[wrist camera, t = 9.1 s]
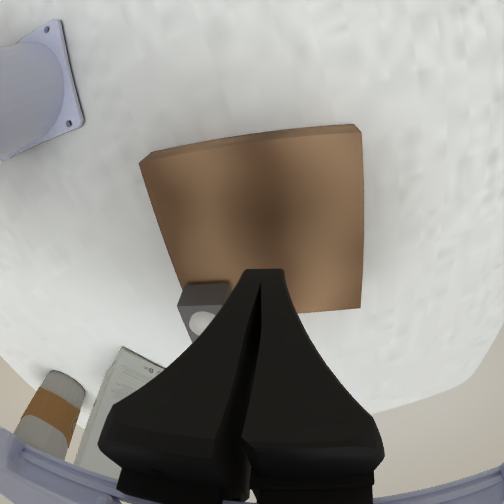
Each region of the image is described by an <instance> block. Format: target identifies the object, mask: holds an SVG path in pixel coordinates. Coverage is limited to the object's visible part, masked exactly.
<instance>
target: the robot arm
mask: <svg viewBox="0 0 504 504" xmlns="http://www.w3.org/2000/svg"><path fill="white" fill-rule="evenodd" d="M49 27H50V30H49V32H48V28H49ZM69 121H71V122H72V126H71V125H70V124H69ZM82 124H83V116H82V112H81V109H80V105H79V101H78V97H77V93H76V90H75V86H74V82H73V77H72V73H71V69H70V65H69V60H68V56H67V51H66V46H65V41H64V36H63V30H62V25H61V21H60V20H58V19H53V20H51V21H49V22H48V23H46V24H45V25H43V26H41V27H40V28H38V29H37V30H35V31H34V32H32V33H31V34H29V35H28V36H26V37H25V38H23V39H22V40H20V41H19V42H18V43H16V44H15V45H10V46H4V47H0V161H4V160H6V159H8V158H10V157H12V156H14V155H16V154H18V153H20V152H22V151H25V150H27V149H29V148H31V147H33V146H35V145H38V144H40V143H42V142H45V141H47V140H49V139H52V138H54V137H56V136H59V135H61V134H64V133H66V132H69V131H71V130H74V129H76V128H79V127H80V126H82ZM97 445H98V447H99V449H100V451H101V452H102V453H103V454H104V455H105V456H107V457H108V458H109V459H111V460H112V461H113V462H114V463H116V464H117V465H118V466H120V467H121V468H122V469H121V472H120V476H119V479H115V478H112V477H109V476H105V475H102V474H99V473H96V472H93V471H90V470H87V469H84V468H82V467H79V466H76V465H74V464H71V463H68V462H65V461H63V460H61V459H58V458H56V457H54V456H51V455H49V454H47V453H44V452H42V451H40V450H38V449H35V448H33V447H31V446H29V445H27V444H25V443H24V442H23V441H22V440H21V439H20V438H18V437H17V436H16V435H14V434H13V433H11V432H10V431H8V430H6V429H4V428H2V427H0V493H1V494H2V495H3V496H5V497H6V498H7V499H9V500H10V501H12V502H13V503H14V504H121V502H120V501H119V500H121V501H124V502H127V503H131V504H504V463H502V464H501V465H500V466H498V467H495V468H493V469H490V470H487V471H484V472H481V473H479V474H476V475H473V476H470V477H466V478H463V479H460V480H457V481H453V482H450V483H446V484H443V485H438V486H435V487H431V488H427V489H422V490H417V491H414V492H408V493H403V494H398V495H392V496H386V497H379V498H373V494H372V485H374V470H375V469H376V468H377V466H378V465H379V464H380V463H381V462H382V460H383V459H384V457H385V453H384V447H383V443H382V439H381V436H380V433H379V431H378V428H377V426H376V423H375V421H374V419H373V417H372V416H371V415H370V414H369V413H368V412H367V411H366V410H365V409H364V408H363V407H362V406H361V405H360V404H359V403H358V402H357V401H356V400H355V399H354V398H353V397H352V396H351V394H350V393H349V392H348V391H347V390H346V389H345V388H344V386H343V385H342V384H341V383H340V381H339V380H338V379H337V378H336V376H335V375H334V374H333V372H332V371H331V370H330V368H329V367H328V366H327V365H326V363H325V362H324V360H323V359H322V357H321V356H320V354H319V353H318V351H317V350H316V348H315V346H314V345H313V343H312V341H311V340H310V338H309V336H308V334H307V332H306V331H305V329H304V327H303V325H302V323H301V321H300V319H299V316H298V314H297V312H296V310H295V307H294V305H293V302H292V300H291V297H290V294H289V291H288V288H287V284H286V280H285V271H284V270H283V269H281V268H279V269H246V270H244V271H243V273H242V275H241V277H240V279H239V281H238V282H237V284H236V286H235V287H234V289H233V291H232V292H231V294H230V296H229V297H228V299H227V300H226V301H225V303H224V304H223V306H222V307H221V309H220V310H219V312H218V313H217V314H216V316H215V317H214V318H213V320H212V321H211V322H210V323H209V325H208V326H207V327H206V328H205V330H204V331H203V332H202V333H201V334H200V336H199V337H198V338H197V339H196V340H195V341H194V342H193V343H192V344H191V345H190V346H189V347H188V348H187V349H186V350H185V351H184V352H183V353H182V354H181V355H180V356H179V357H178V358H177V359H176V360H175V361H174V362H173V363H172V364H170V365H169V366H168V367H167V368H166V369H165V370H163V371H162V372H161V373H159V374H158V375H157V376H156V377H154V378H153V379H152V380H150V381H149V382H148V383H146V384H145V385H144V386H142V387H141V388H139V389H138V390H136V391H135V392H133V393H132V394H130V395H128V396H127V397H125V398H123V399H122V400H120V401H119V402H117V403H115V404H113V405H112V408H111V410H110V412H109V413H108V415H107V418H106V420H105V423H104V426H103V428H102V431H101V434H100V437H99V440H98V443H97ZM250 489H251V490H252V491H253V493H254V495H255V497H256V499H257V503H249V502H245V501H246V500H247V499H248V498H249V495H250Z"/></svg>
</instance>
